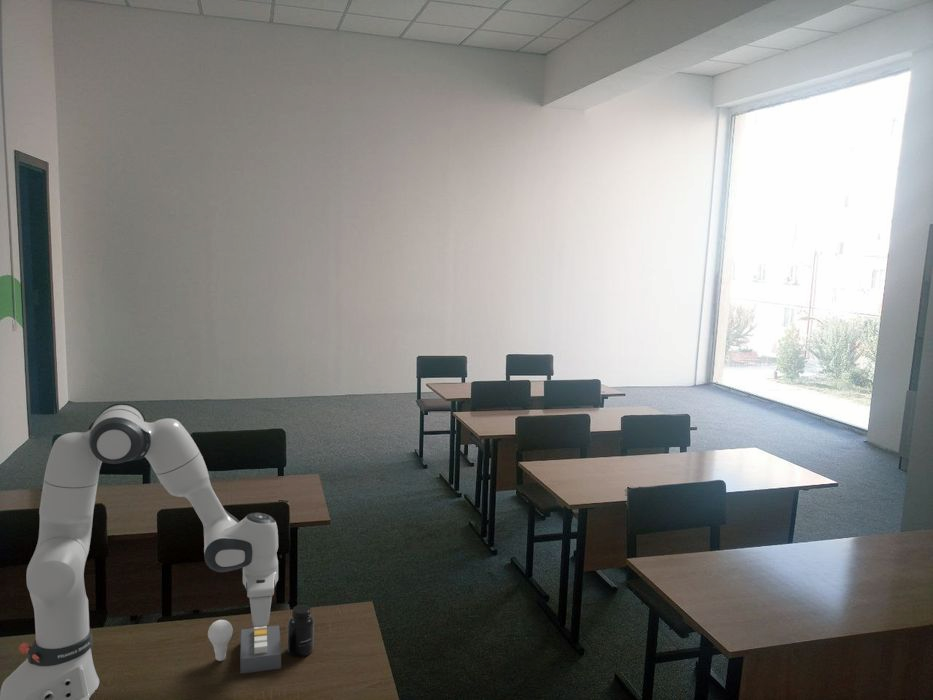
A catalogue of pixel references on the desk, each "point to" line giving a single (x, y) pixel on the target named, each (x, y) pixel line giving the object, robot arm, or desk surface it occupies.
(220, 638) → the lightbulb
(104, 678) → the desk surface
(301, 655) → the supplement bottle
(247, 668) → the breaker strip
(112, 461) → the robot arm
